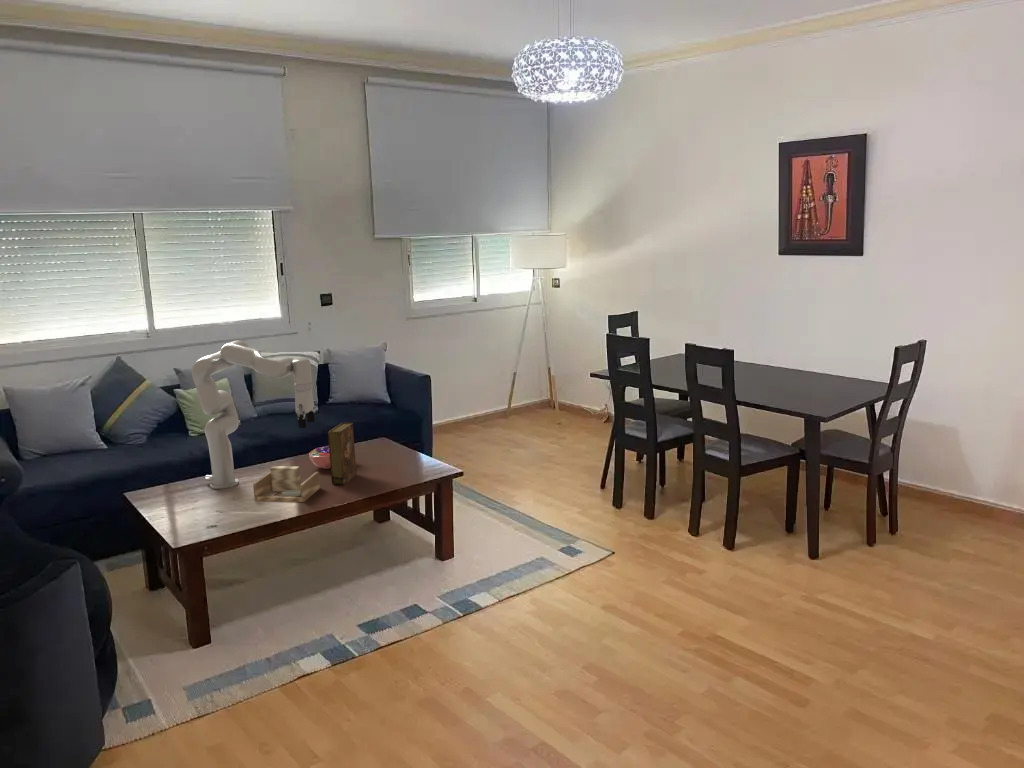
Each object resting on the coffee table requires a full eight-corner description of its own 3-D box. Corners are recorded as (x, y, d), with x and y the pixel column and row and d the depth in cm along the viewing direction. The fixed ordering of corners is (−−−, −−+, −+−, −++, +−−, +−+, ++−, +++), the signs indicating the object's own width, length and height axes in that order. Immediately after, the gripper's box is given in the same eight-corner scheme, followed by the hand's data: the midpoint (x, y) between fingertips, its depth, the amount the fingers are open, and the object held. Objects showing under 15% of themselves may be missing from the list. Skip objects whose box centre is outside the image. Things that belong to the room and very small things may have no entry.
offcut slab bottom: (273, 498, 336) (273, 495, 336) (277, 494, 341) (277, 492, 340) (299, 499, 335) (299, 496, 334) (303, 495, 339) (303, 492, 339)
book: (346, 473, 364) (342, 422, 359) (357, 474, 363) (353, 422, 358) (332, 485, 348) (327, 431, 343) (343, 485, 347) (339, 432, 342)
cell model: (303, 468, 375) (301, 445, 372) (339, 458, 388) (338, 437, 385) (320, 475, 362) (318, 452, 360) (357, 465, 375) (355, 443, 373)
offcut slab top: (281, 496, 335) (281, 493, 335) (285, 492, 339) (284, 490, 339) (299, 495, 335) (299, 493, 335) (302, 492, 339) (302, 490, 338)
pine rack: (254, 501, 331) (252, 483, 329) (272, 487, 347) (270, 470, 346) (304, 502, 328) (302, 484, 326) (319, 488, 344) (318, 471, 342)
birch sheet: (272, 491, 342) (270, 468, 340) (275, 489, 345) (273, 466, 343) (298, 492, 341) (296, 468, 338) (301, 490, 344) (299, 466, 341)
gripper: (303, 382, 346) (306, 419, 349) (287, 391, 329) (290, 430, 332) (319, 382, 345) (322, 419, 348) (304, 391, 328) (307, 430, 331)
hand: (307, 424), depth 340 cm, fingers open, 9 cm apart
